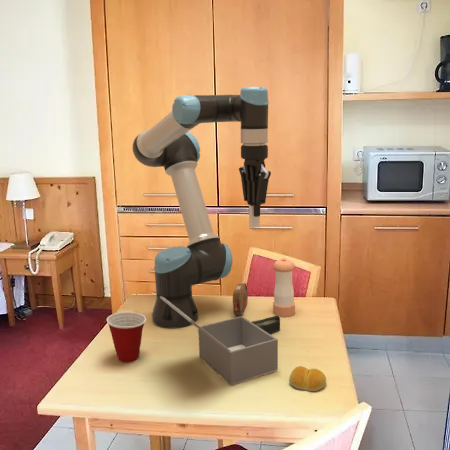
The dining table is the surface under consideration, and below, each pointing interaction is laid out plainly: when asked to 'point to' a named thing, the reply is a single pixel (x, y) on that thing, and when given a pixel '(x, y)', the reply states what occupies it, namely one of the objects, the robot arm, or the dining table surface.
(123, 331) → the plastic cup
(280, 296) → the salt shaker
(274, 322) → the black elongated piece
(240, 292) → the tin
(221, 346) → the box lid
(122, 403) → the dining table surface
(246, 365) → the box
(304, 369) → the bread roll
